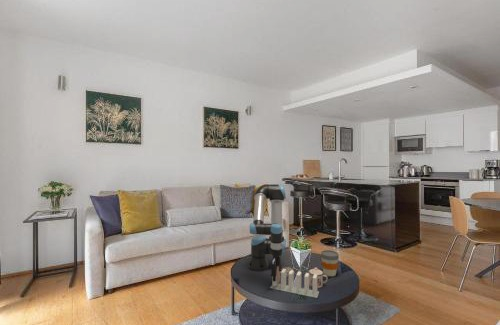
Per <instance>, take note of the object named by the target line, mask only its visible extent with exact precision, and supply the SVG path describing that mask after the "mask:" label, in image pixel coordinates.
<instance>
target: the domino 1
mask: <svg viewBox="0 0 500 325" xmlns="http://www.w3.org/2000/svg"><path fill="white" fill-rule="evenodd" d="M279 272H280V271H279V266H277V273H276V276H277V285H278V284H280V282H279Z"/></svg>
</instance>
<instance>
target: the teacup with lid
mask: <svg viewBox="0 0 500 325" xmlns="http://www.w3.org/2000/svg"><path fill="white" fill-rule="evenodd" d="M308 273H309V287H311V288H313V276H314V274H316V275H317V289H318V288H323V286H324V285H323V284H325V283H327V281H328V276H326V275H324V274H323V270H320V269H318V267H314V268H312V269H309V271H308ZM323 277H325V278H326V279H325V280H323V279H324V278H323Z"/></svg>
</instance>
